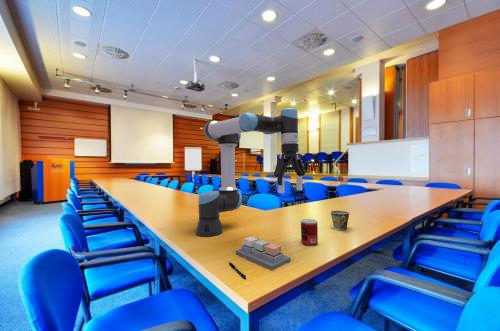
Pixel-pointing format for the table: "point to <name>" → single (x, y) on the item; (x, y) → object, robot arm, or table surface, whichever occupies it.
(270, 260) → the keypad
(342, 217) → the ceramic cup
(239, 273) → the pen
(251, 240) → the key ivory
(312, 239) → the canned food
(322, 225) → the table surface
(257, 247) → the key green
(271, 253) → the key terracotta
